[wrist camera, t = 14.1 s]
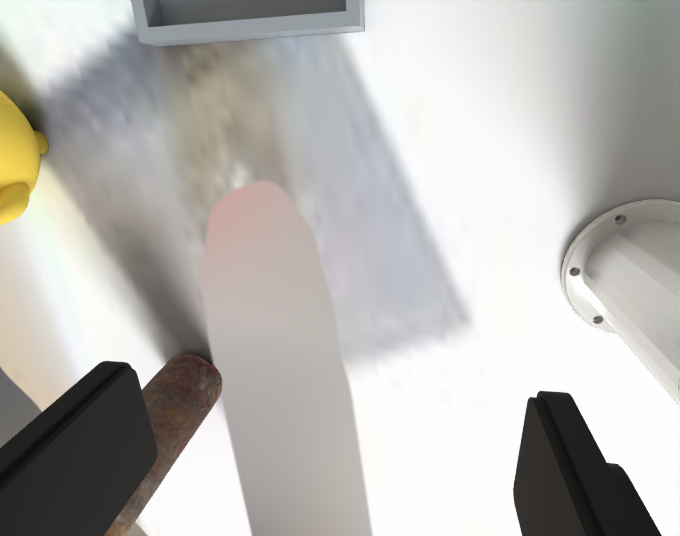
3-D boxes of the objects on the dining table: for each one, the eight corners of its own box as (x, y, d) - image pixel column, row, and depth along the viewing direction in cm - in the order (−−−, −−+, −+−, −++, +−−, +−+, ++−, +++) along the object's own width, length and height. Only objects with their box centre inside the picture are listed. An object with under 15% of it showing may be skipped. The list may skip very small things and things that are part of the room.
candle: (176, 337, 48) (33, 483, 30) (233, 361, 48) (125, 523, 30) (164, 383, 51) (29, 541, 33) (218, 406, 52) (112, 577, 33)
